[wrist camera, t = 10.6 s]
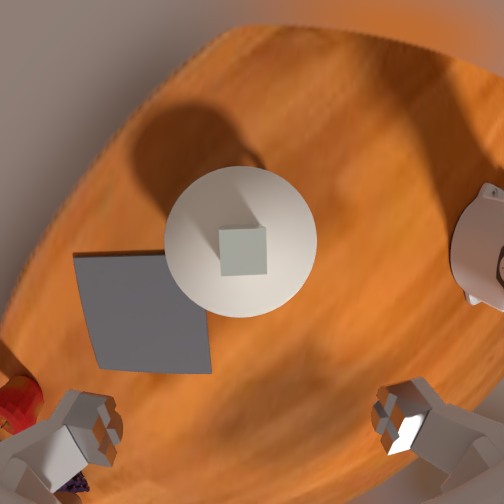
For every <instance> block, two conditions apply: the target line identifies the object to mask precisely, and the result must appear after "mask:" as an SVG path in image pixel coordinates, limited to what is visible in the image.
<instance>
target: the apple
mask: <svg viewBox="0 0 504 504" xmlns="http://www.w3.org/2000/svg"><path fill="white" fill-rule="evenodd" d="M43 404H44V400H43V395H42V391H41V389H40V387H39V386H38V384H37V383H36V382H35V381H34V380H33V379H32V378H30V377H28V376H20V375H15V376H13V377H12V378H11V379H10V380H9V381H8V382H7V383H6V385H4V386H3V387H1V388H0V425H1V428H2V427H3V428H4V429H5V430H6V431H7V432H9V433H11V434H12V435H15V434H17V433H19V432H21V431H23V430H25V429H27V428H29V427H31V426H33V425H35V423H36V420H37V416H38V414H39V412H40V410H41V408H42V406H43Z"/></svg>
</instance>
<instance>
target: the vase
mask: <svg viewBox="0 0 504 504" xmlns="http://www.w3.org/2000/svg"><path fill="white" fill-rule="evenodd" d="M53 495H54V496H55V497H56V498H57V499H58V500H59V501H60V502H61V503H62V504H82V501H81V499H80V497H79V496H78V495H76V494H75V493H74V494H73V493H70V492H68V491H67V490H66V491H65V492H61V491H59V492H54V493H53Z"/></svg>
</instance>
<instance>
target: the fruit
mask: <svg viewBox="0 0 504 504" xmlns="http://www.w3.org/2000/svg"><path fill="white" fill-rule="evenodd" d="M66 490H67V491H68V492H70V493H73V494H74V493H77V492H84V491H86V492H88V491H89V486H88V483H87V481H86V479H84V478H83V477H82V474H81V473H80V472H78V473H77V474H76V475H75V476H74V477H72V478H71V479H70V480H69V481H67V482H66V483H65V484H64V485H63V486H61V487H60V488H59V489H58V490H56V491H55V492H59V491H61V492H65V491H66Z"/></svg>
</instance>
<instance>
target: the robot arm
mask: <svg viewBox="0 0 504 504" xmlns="http://www.w3.org/2000/svg"><path fill="white" fill-rule="evenodd" d="M451 268H452V272H453V276H454V278H455V280H456V282H457V283H458V284H459V286H460V287H461V288H462V289H463V290H464V292H465V296H466V300H467V302H468V303H470V304H472V305H475V304H477V303H479V302H481V301H482V302H484V303H486V304H488V305H490V306H492V307H494V308H496V309H498V310H500V311H502V312H504V190H502V189H500V188H498V187H496V186H495V185H493V184H490V183H487V182H486V183H484V184H483V186H482V187H481V189H480V191H479V194H478V196H477V197H476V199H475V200H474V201H473V202H472V203H471V204H470V205H469V206H468V207H467V208H466V209H465V210H464V212H463V213H462V215H461V217H460V219H459V221H458V223H457V225H456V228H455V231H454V235H453V239H452V244H451ZM376 396H377V397H378V399H379V400H378V401H377V402H376V403H375V404H374V405H373V408H372V412H371V421H372V425H373V428H374V430H375V432H377V433H379V434H381V435H382V437H381V440H380V442H381V443H382V445H383V447H384V449H385V451H386V453H387V455H390V454H394V453H397V452H401V451H404V450H408V449H410V450H411V451H413V452H414V453H416V454H417V455H419V456H420V457H422V458H423V459H425V460H426V461H428V462H430V463H431V464H433V465H434V466H436V467H437V468H439V469H441V470H442V471H444V472H446V473H447V474H449V477H448V478H447V479H446V480H445V482H444V483H443V484H442V486H441V490H442V492H443V494H442V495H440V496H437V497H436V498H433V499H431V500H429V501H426V502H424V503H422V504H504V424H502V423H499V422H497V421H494V420H491V419H488V418H486V417H483V416H480V415H478V414H475V413H472V412H470V411H467V410H464V409H462V408H459V407H457V406H454V405H452V404H447V405H446V404H445V403H444V402H443V400H442V399H441V398H440V397H439V396H438V394H437V393H436V392H435V391H434V390H433V388H432V387H431V386H430V385H429V384H428V382H427V381H426V380H425V379H424V378H423V377H416V378H413V379H409V380H405V381H401V382H397V383H392V384H388V385H383V386H381V387H380V388H379V389H378V392H377V395H376ZM115 407H116V403H115V401H114V398H113V397H111V396H107V395H101V394H95V393H90V392H84V391H83V392H82V391H78V390H73V389H70V390H67V391H66V393H65V394H64V396H63V397H62V399H61V401H60V402H59V404H58V405H57V407H56V409H55V410H54V412H53V413H52V415H51V417H50V418H49V420H43V421H41V422H39V423H37V424H35V425H33V426H31V427H29V428H27V429H25V430H23V431H21V432H19V433H17V434H15V435H13V436H11V437H9V438H7V439H5V440H3V441H1V442H0V504H62V503H61V502H60V501H59V500H58V499H57V498H56V497H55V496H54V495H53V493H54V492H55V491H56V490H58V489H59V488H60V487H61V486H63V485H64V484H65V483H66V482H67V481H69V480H70V479H71V478H72V477H74V476H75V475H76V474H77V473H78V472H80V471H81V470H82V469H83V468H84V467H86V466H87V465H88V463H91V464H96V465H101V466H106V467H112V466H113V463H114V460H115V457H116V454H117V451H116V449H115V447H114V446H116V445H117V444H119V443H120V442H121V439H122V436H123V423H122V419H121V416H120V415H119V414H118V413H117V412H116V411H115Z"/></svg>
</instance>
